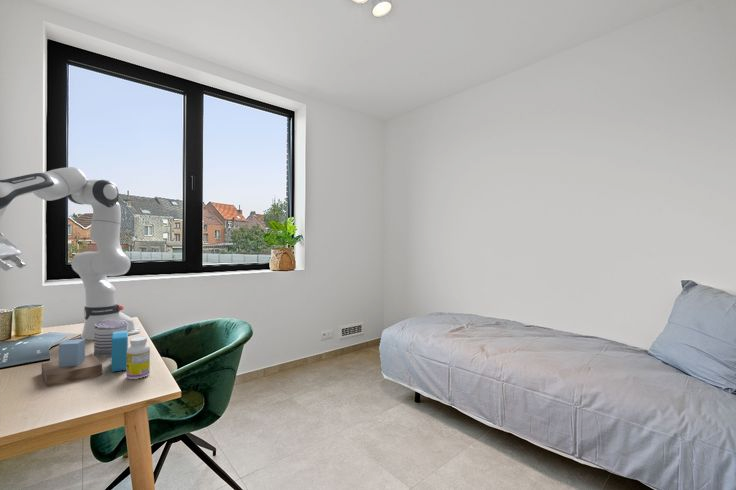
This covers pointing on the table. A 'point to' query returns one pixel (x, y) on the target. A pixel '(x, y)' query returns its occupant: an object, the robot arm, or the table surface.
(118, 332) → the data package
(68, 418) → the table surface
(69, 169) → the robot arm
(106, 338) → the can
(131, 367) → the supplement bottle
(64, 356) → the slate blue block
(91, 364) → the walnut base block
